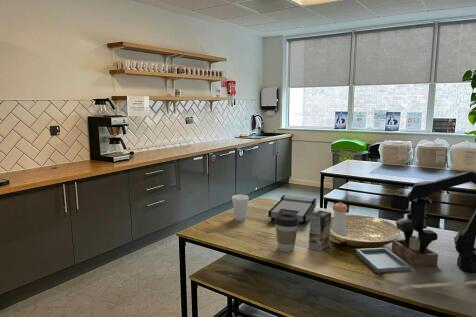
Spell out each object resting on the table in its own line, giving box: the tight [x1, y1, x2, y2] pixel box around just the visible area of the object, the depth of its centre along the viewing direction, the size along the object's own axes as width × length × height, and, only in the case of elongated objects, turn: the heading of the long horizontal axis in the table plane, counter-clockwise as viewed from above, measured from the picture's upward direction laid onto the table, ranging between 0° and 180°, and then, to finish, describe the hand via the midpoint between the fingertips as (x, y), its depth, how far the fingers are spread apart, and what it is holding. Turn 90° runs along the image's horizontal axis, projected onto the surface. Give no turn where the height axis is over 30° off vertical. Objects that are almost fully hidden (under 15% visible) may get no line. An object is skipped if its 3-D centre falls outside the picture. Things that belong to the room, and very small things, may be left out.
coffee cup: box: [273, 214, 300, 253], centre depth 156 cm, size 11×11×15 cm
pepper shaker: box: [330, 201, 349, 244], centre depth 165 cm, size 7×7×19 cm
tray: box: [355, 247, 412, 275], centre depth 143 cm, size 18×14×2 cm
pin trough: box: [391, 238, 439, 268], centre depth 146 cm, size 16×10×6 cm, turn 8°
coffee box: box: [308, 210, 332, 252], centre depth 158 cm, size 9×6×16 cm
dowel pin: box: [409, 235, 420, 254], centre depth 146 cm, size 4×4×9 cm
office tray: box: [268, 194, 317, 226], centre depth 200 cm, size 21×32×8 cm, turn 158°
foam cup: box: [231, 194, 250, 222], centre depth 195 cm, size 10×9×13 cm
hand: (414, 247), depth 146 cm, fingers open, 9 cm apart
